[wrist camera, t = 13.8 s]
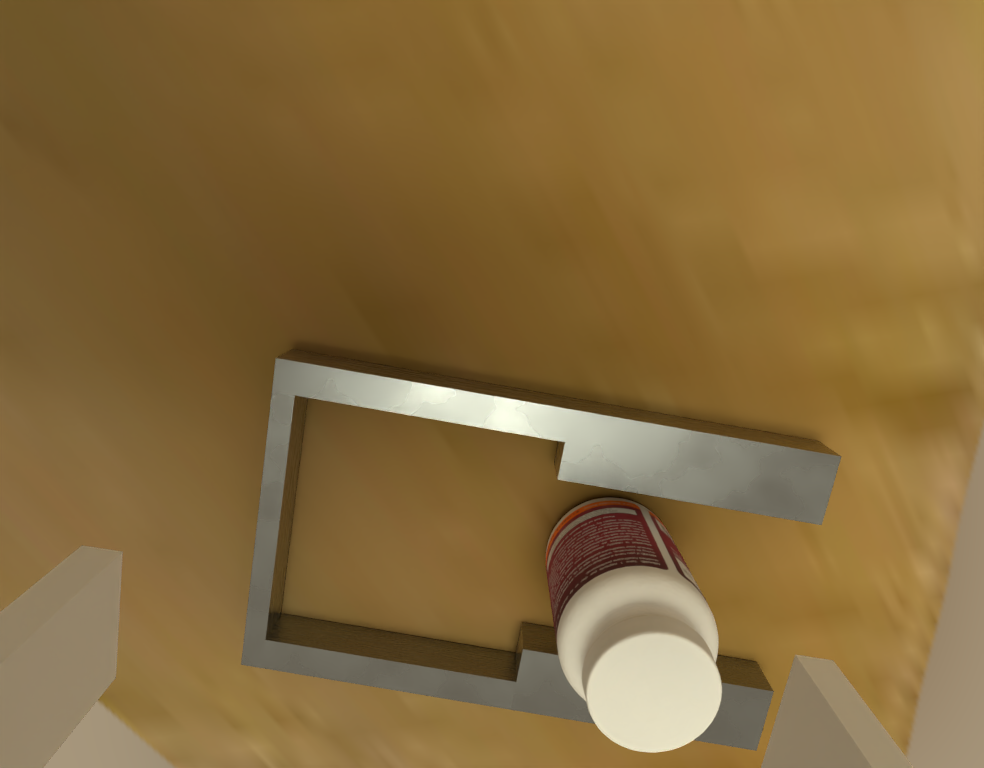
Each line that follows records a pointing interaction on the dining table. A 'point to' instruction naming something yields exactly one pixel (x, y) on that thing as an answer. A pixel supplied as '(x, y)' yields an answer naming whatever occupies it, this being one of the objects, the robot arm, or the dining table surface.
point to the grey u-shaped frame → (579, 458)
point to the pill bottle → (632, 626)
